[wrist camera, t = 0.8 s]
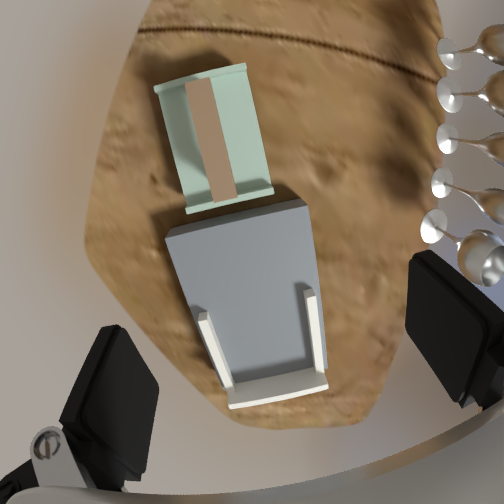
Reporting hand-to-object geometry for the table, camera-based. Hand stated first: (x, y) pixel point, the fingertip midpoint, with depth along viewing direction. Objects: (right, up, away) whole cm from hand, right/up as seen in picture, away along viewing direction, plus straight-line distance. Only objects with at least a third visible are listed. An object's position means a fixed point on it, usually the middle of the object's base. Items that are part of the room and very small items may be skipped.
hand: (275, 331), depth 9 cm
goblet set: (+23, +16, +20) cm, 34 cm away
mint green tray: (-4, +14, +19) cm, 24 cm away
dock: (0, -3, +26) cm, 27 cm away
